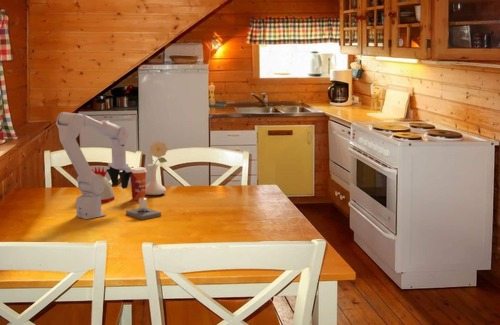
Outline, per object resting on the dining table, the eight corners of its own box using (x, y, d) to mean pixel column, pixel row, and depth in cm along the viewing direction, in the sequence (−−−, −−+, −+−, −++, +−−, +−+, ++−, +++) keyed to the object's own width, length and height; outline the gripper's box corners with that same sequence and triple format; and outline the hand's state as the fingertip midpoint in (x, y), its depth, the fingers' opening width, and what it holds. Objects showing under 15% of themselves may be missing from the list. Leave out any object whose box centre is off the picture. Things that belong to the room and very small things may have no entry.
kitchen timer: (110, 203, 302) (109, 170, 300) (79, 203, 302) (77, 169, 300) (117, 196, 316) (116, 164, 313) (87, 196, 316) (85, 163, 313)
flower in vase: (137, 196, 316) (135, 141, 312) (147, 190, 327) (146, 138, 322) (163, 198, 313) (162, 143, 308) (173, 192, 323) (172, 139, 319)
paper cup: (138, 202, 305) (137, 170, 302) (126, 199, 310) (125, 168, 307) (151, 198, 311) (150, 168, 309) (139, 196, 316) (138, 166, 313)
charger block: (142, 219, 275) (142, 214, 275) (126, 214, 284) (125, 208, 284) (161, 216, 281) (160, 210, 281) (144, 210, 290) (144, 205, 290)
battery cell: (142, 216, 281) (142, 198, 279) (137, 215, 283) (137, 197, 281) (148, 215, 283) (148, 197, 281) (144, 213, 285) (143, 195, 284)
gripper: (136, 155, 287) (137, 188, 290) (117, 151, 298) (118, 182, 300) (121, 157, 282) (122, 190, 285) (103, 153, 293) (104, 184, 295)
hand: (119, 186), depth 292 cm, fingers open, 7 cm apart
